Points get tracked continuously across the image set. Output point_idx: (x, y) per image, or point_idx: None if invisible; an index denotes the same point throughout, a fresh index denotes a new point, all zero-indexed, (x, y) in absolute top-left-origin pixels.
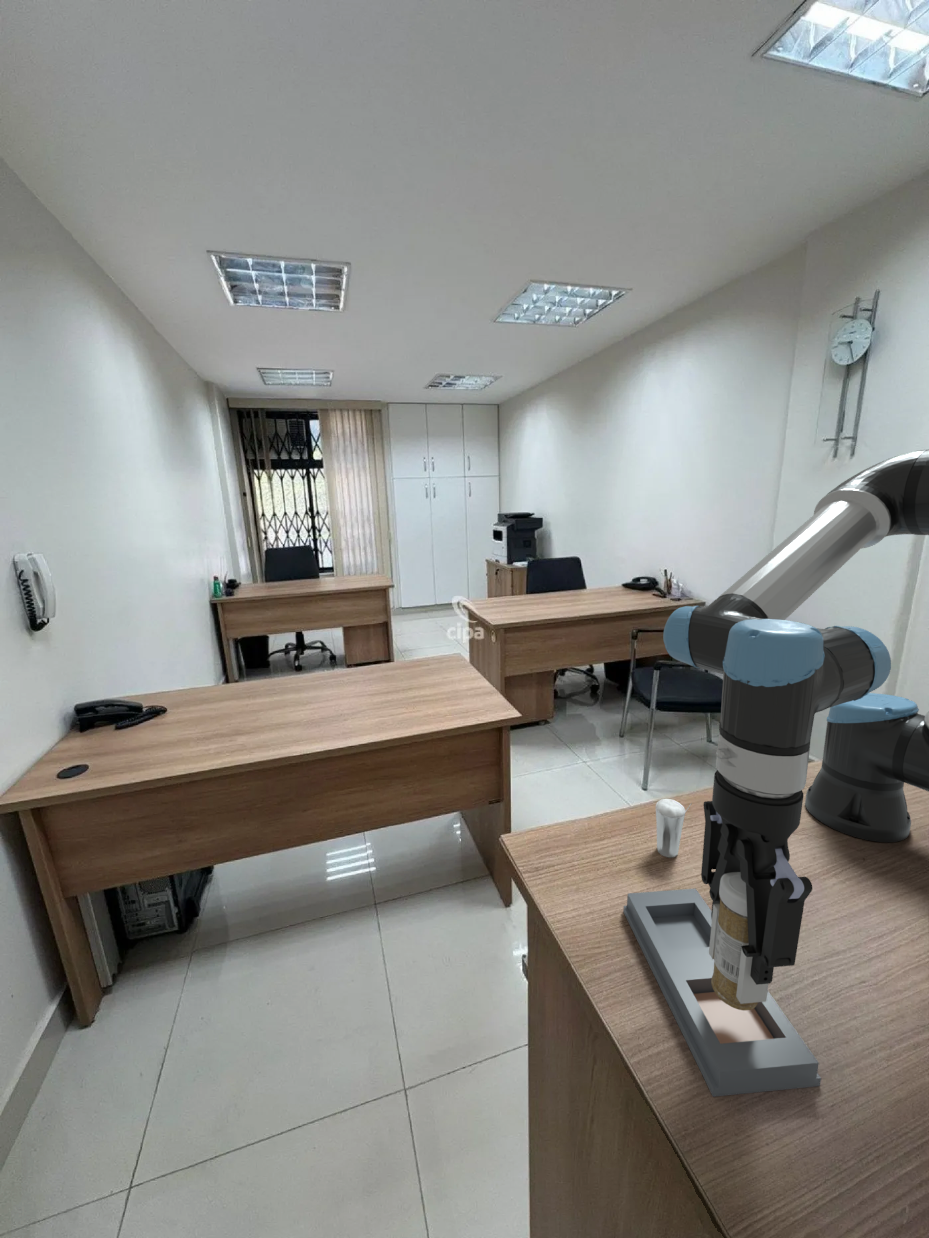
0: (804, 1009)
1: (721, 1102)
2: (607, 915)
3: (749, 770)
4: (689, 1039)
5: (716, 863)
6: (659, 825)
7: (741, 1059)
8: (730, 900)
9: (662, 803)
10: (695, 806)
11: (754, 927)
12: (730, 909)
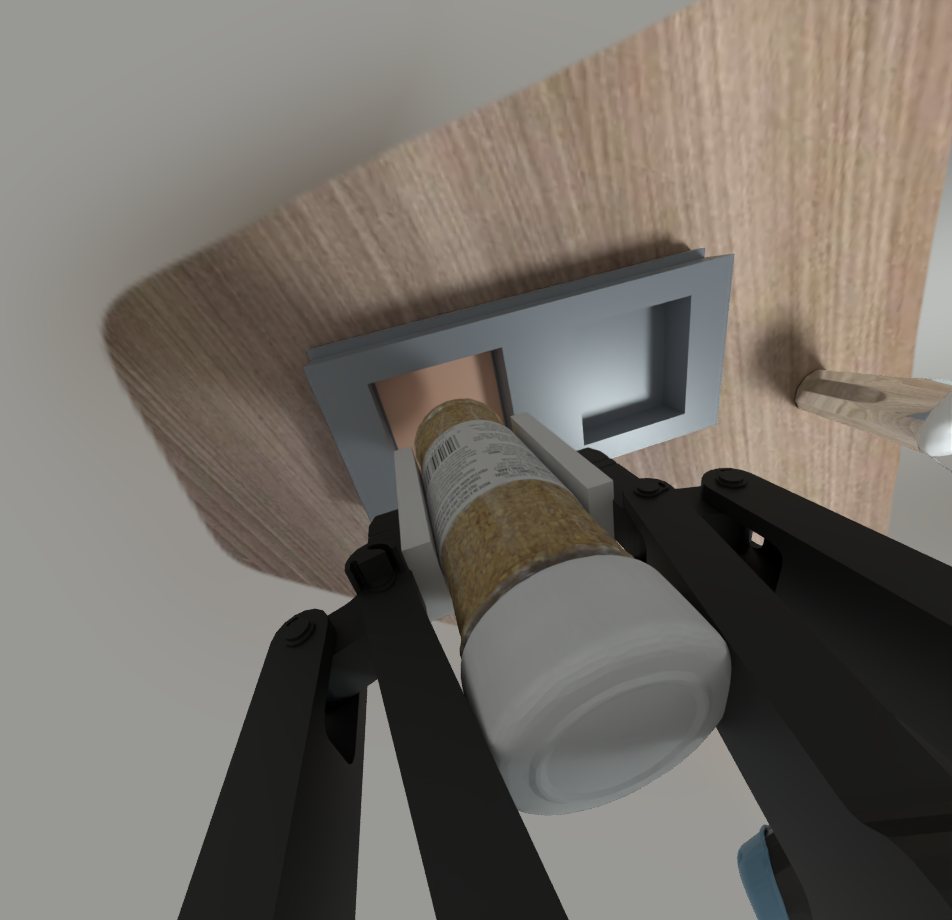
0: None
1: (305, 361)
2: (687, 202)
3: None
4: (394, 328)
5: (801, 582)
6: (902, 382)
7: (344, 416)
8: (530, 636)
9: None
10: (888, 467)
11: (386, 678)
12: (515, 584)
